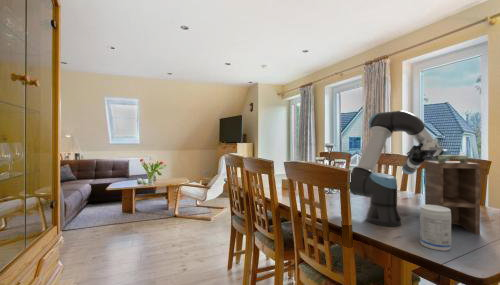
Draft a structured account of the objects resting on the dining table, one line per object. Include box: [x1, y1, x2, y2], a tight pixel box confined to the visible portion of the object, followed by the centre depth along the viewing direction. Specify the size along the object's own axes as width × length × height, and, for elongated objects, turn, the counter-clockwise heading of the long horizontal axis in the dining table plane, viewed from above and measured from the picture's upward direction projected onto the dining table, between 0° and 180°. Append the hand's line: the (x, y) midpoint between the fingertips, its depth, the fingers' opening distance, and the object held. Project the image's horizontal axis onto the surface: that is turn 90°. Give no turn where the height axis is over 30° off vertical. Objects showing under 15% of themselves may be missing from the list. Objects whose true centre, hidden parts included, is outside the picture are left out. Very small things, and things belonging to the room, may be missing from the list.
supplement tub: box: [419, 204, 452, 252], centre depth 94 cm, size 10×10×15 cm
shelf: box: [424, 154, 481, 235], centre depth 114 cm, size 15×14×33 cm
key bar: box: [421, 143, 444, 150], centre depth 131 cm, size 4×18×4 cm, turn 166°
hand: (430, 141), depth 133 cm, fingers closed on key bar, 4 cm apart
